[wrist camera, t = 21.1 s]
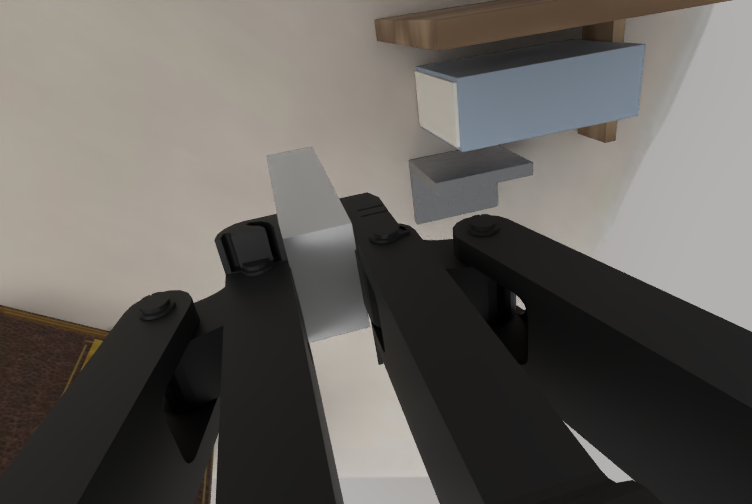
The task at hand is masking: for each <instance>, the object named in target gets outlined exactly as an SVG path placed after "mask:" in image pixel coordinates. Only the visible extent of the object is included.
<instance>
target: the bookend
mask: <svg viewBox="0 0 752 504" xmlns="http://www.w3.org/2000/svg"><path fill="white" fill-rule="evenodd" d="M409 167H410V176H411V185H412V194H413V203H414V213H415V222H416V224H421V223H426V222H430V221H435V220H439V219H443V218H448V217H452V216H457V215H461V214H465V213H470V212H474V211H479V210H483V209H487V208H492V207H496V206H497V183H498V182H502V181H507V180H511V179H516V178H521V177H525V176H530V175H533V162H531V161H529V160H527V159H525V158H523V157H521V156H519V155H517V154H515V153H513V152H511V151H509V150H507V149H505V148H503V147H501V146H499V145H494V146H489V147H485V148H480V149H475V150H470V151H465V152H461V151H460V150H456V151H451V152H447V153H442V154H437V155H432V156H427V157H422V158H417V159H413V160H409Z"/></svg>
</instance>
